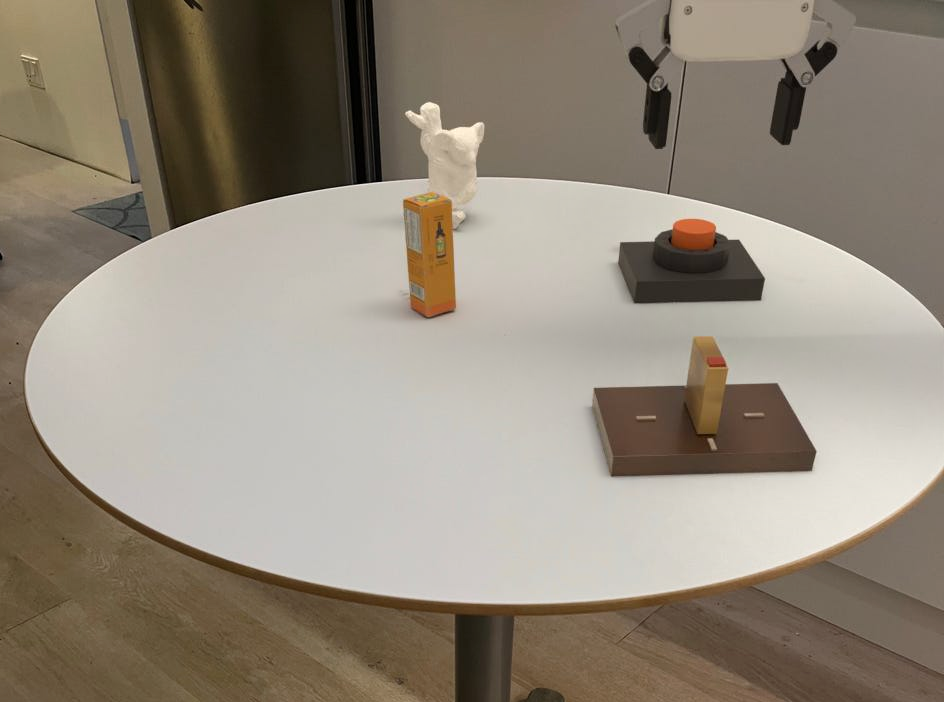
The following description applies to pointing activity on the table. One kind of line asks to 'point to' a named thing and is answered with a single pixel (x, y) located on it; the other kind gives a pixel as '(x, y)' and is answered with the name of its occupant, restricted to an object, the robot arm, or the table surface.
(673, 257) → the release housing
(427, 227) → the supplement box
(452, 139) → the white animal figurine
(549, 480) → the table surface
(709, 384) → the red-tipped yellow slab
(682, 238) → the button
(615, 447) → the plate
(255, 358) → the table surface
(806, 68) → the robot arm
